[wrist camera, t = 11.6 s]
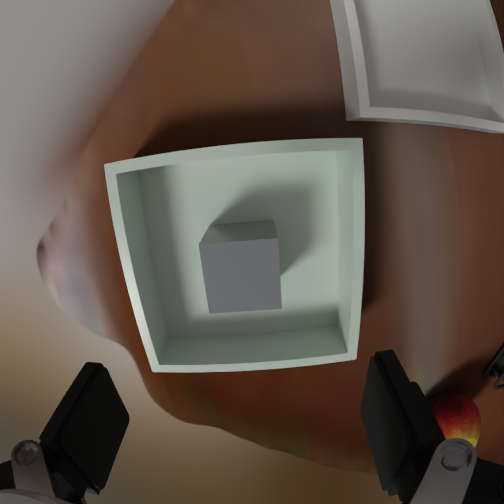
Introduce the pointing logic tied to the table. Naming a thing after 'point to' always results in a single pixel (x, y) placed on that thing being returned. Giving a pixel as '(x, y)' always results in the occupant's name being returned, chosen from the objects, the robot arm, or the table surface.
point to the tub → (421, 62)
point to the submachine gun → (497, 369)
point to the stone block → (241, 267)
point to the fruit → (457, 416)
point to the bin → (235, 211)
